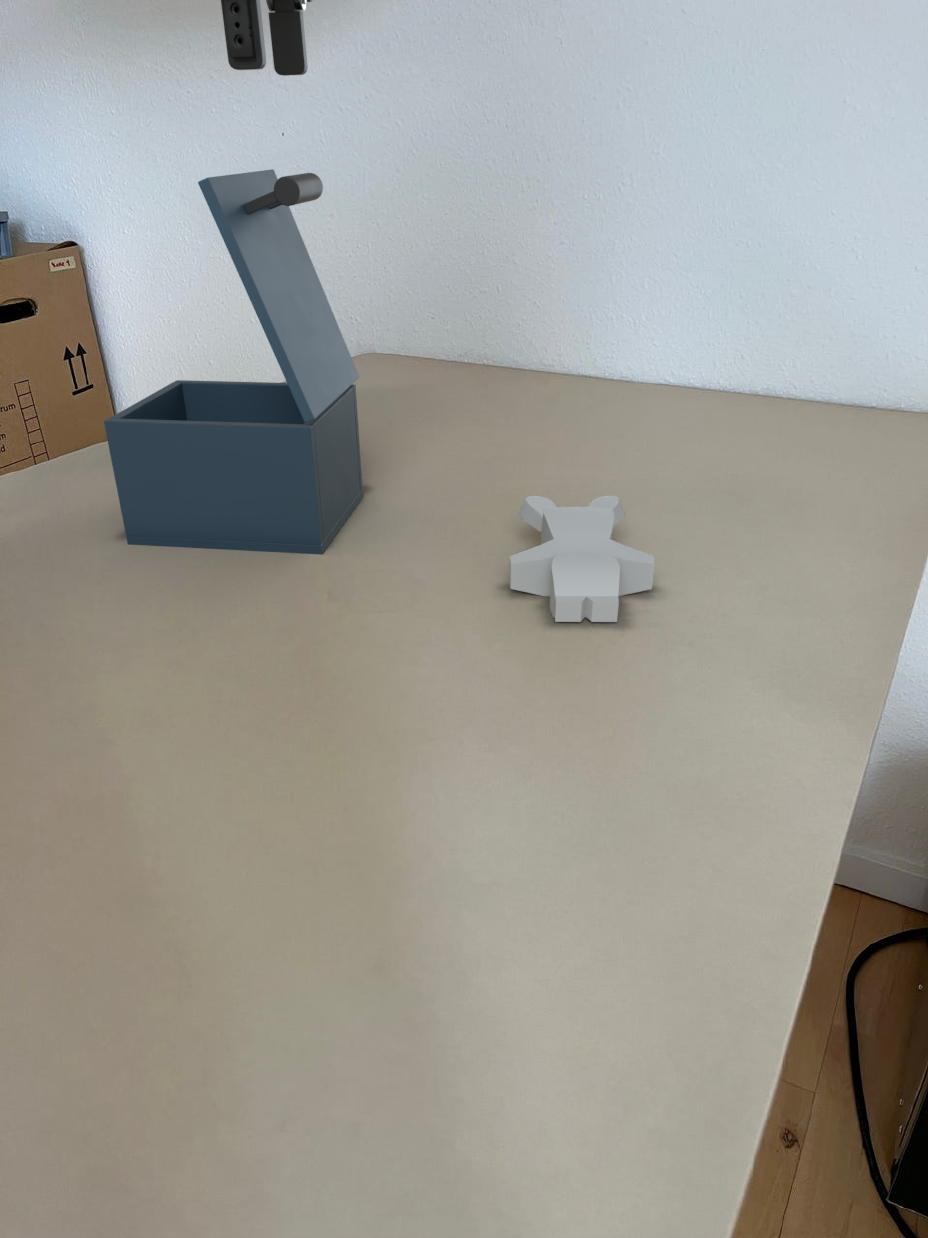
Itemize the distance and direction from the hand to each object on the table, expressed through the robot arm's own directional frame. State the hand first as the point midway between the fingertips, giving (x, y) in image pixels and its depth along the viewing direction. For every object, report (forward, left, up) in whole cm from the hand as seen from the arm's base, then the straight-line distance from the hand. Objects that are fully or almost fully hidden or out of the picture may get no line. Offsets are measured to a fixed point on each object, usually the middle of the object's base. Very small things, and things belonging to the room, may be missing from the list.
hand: (271, 72), depth 62 cm
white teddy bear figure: (+22, -9, -32) cm, 40 cm away
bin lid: (-1, 0, -14) cm, 14 cm away
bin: (-5, 0, -32) cm, 32 cm away
